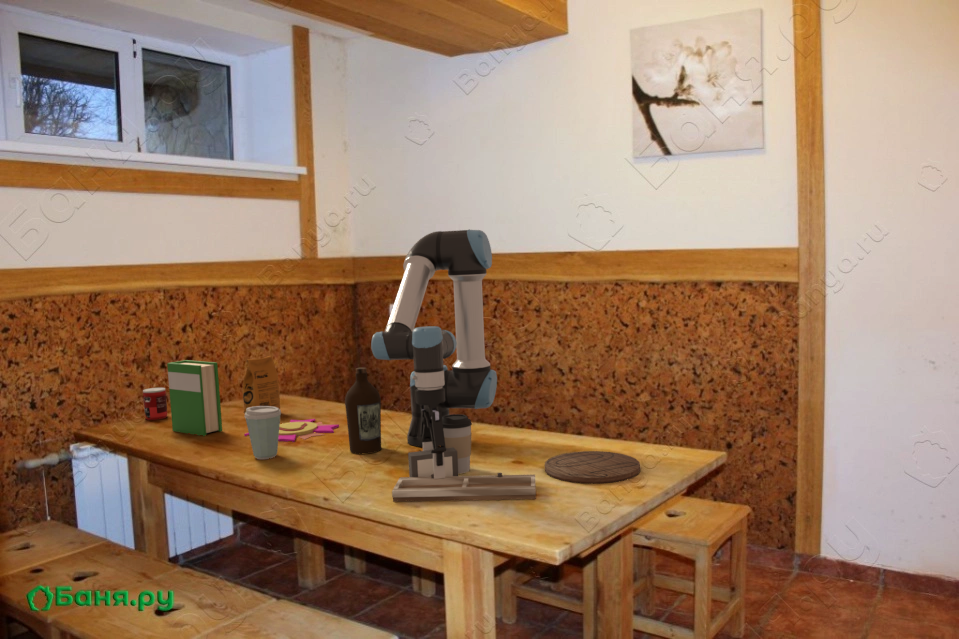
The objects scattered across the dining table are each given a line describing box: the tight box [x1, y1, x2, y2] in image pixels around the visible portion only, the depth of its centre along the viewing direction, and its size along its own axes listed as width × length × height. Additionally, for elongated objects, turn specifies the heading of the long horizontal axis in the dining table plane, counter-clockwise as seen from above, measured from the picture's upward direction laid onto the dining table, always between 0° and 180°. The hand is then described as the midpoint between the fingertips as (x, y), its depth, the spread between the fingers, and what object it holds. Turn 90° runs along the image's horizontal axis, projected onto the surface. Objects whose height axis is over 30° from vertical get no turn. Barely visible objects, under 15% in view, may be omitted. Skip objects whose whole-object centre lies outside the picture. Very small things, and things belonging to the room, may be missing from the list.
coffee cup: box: [442, 413, 473, 475], centre depth 208 cm, size 9×9×15 cm
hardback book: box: [166, 359, 223, 437], centre depth 268 cm, size 18×7×24 cm, turn 56°
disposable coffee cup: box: [244, 406, 282, 460], centre depth 230 cm, size 11×11×15 cm
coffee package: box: [241, 355, 281, 415], centre depth 290 cm, size 10×12×22 cm
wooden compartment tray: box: [391, 472, 537, 503], centre depth 188 cm, size 11×34×4 cm, turn 86°
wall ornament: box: [243, 418, 340, 443], centre depth 262 cm, size 30×2×30 cm
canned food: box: [142, 387, 168, 421], centre depth 294 cm, size 8×8×11 cm
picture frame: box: [407, 447, 459, 477], centre depth 198 cm, size 4×12×8 cm, turn 106°
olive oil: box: [344, 366, 382, 455], centre depth 232 cm, size 11×11×25 cm
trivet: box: [544, 450, 641, 485], centre depth 204 cm, size 25×25×2 cm
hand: (434, 472), depth 198 cm, fingers open, 11 cm apart
